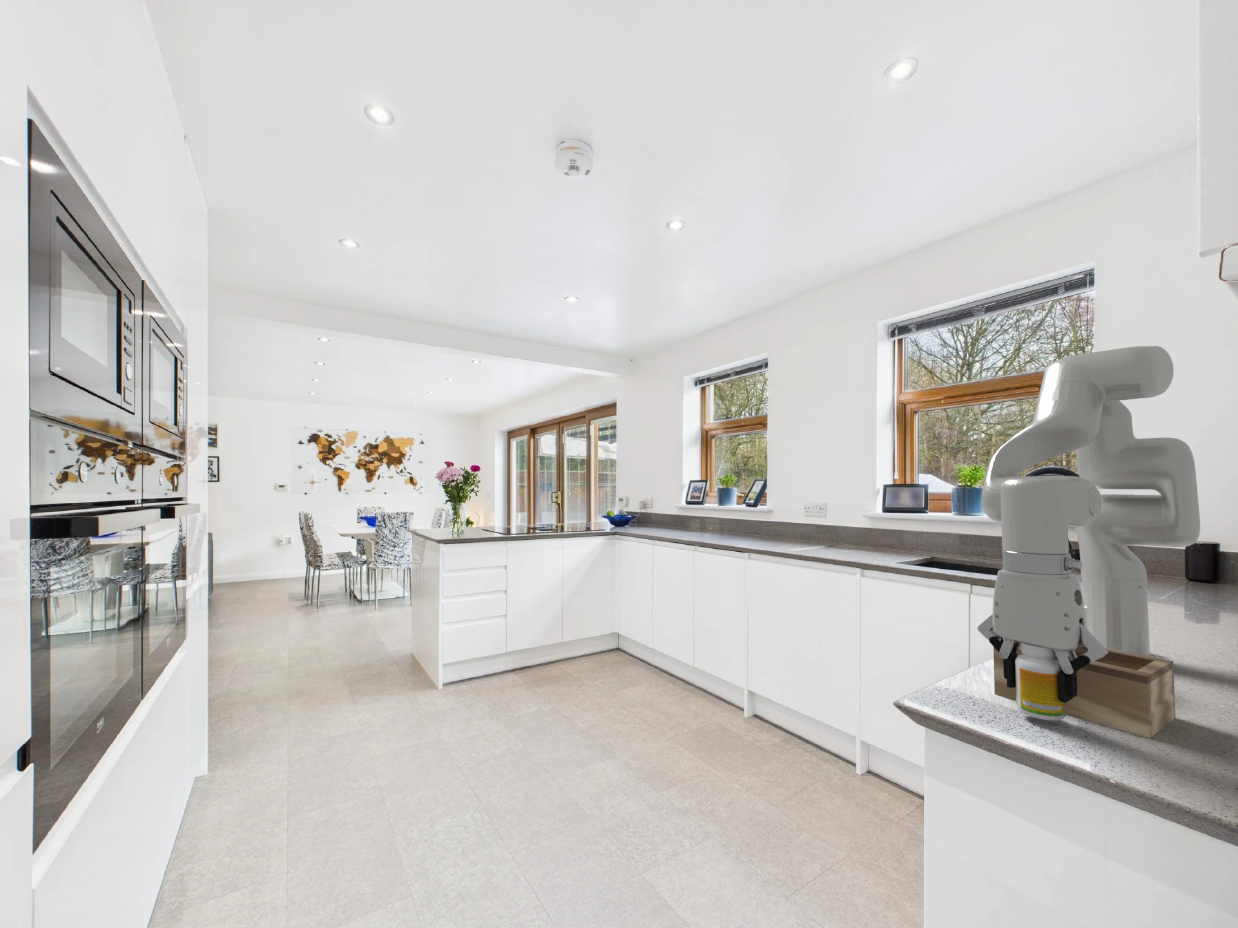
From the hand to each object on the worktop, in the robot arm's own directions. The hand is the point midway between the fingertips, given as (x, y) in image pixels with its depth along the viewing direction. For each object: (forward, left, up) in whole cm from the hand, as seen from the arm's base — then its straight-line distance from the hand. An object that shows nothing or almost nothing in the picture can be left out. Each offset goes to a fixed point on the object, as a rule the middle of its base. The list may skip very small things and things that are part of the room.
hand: (1039, 691), depth 76 cm
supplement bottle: (0, 0, -3) cm, 3 cm away
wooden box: (-11, +1, -4) cm, 12 cm away
